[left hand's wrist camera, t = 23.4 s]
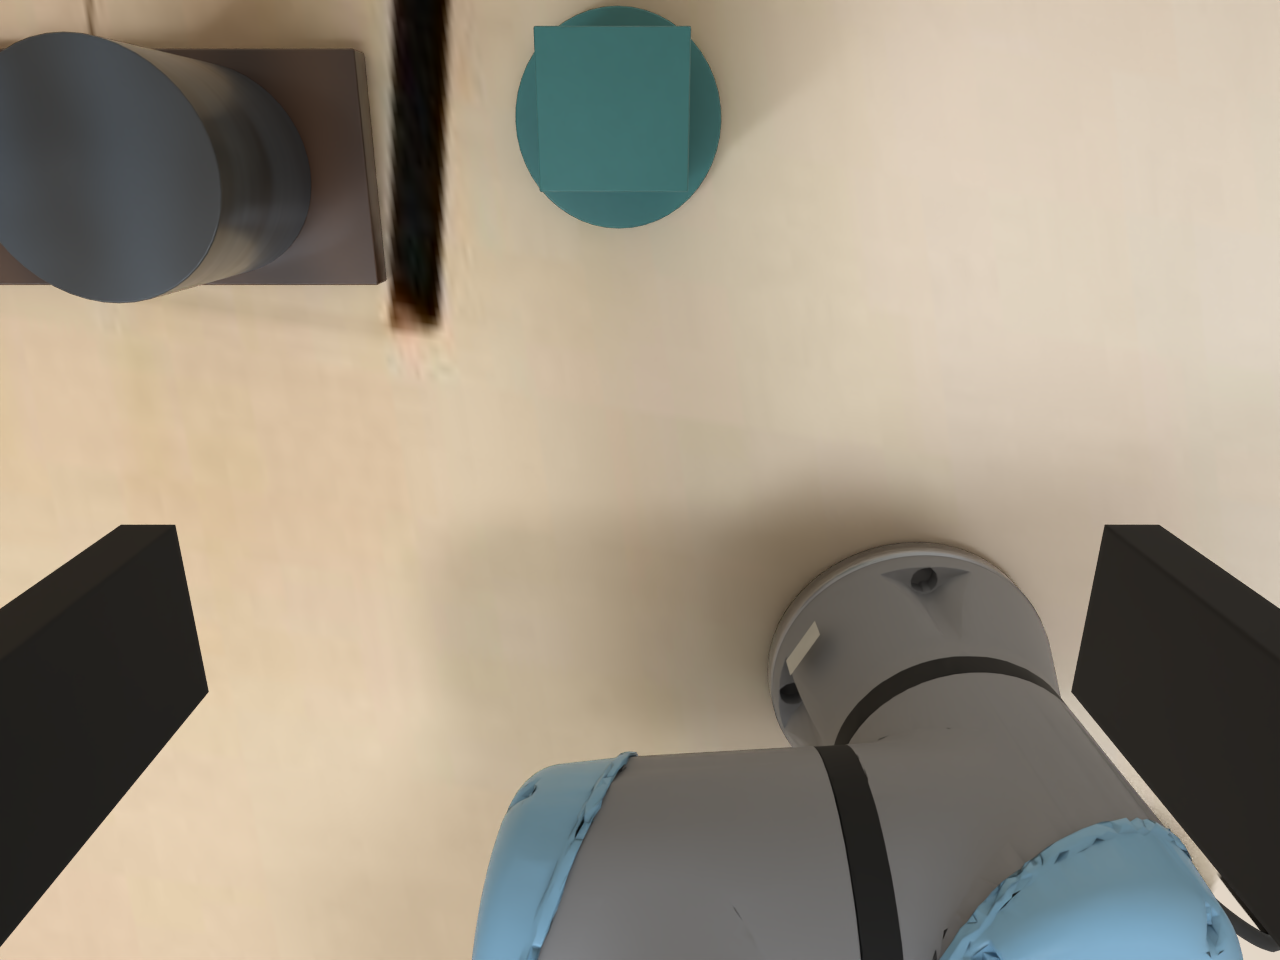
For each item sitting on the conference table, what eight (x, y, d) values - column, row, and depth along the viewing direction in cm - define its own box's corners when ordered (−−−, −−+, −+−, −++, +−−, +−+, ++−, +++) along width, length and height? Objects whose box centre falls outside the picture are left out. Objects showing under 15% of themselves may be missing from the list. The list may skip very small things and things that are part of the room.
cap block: (722, 9, 38) (746, -35, 30) (716, 226, 41) (736, 243, 33) (513, 9, 38) (477, -35, 30) (522, 226, 41) (492, 243, 33)
